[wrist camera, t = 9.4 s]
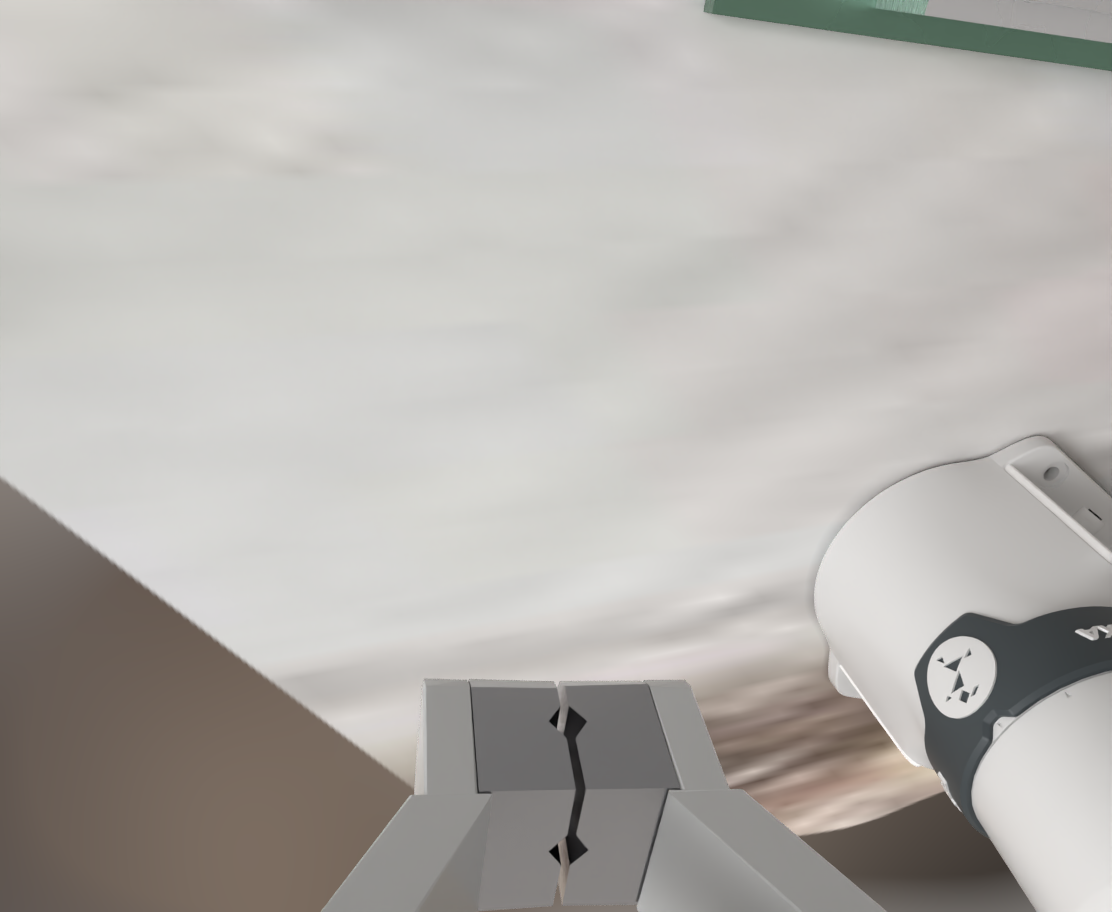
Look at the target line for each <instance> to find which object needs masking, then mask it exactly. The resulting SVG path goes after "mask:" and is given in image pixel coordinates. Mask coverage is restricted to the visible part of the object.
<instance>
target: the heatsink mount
mask: <svg viewBox="0 0 1112 912" xmlns="http://www.w3.org/2000/svg"><path fill="white" fill-rule="evenodd" d="M704 12H707V13H712V14H718V15H725V16H732V17H739V18H746V19H753V20H760V21H767V22H774V23H781V24H788V25H795V26H802V27H809V28H816V29H823V30H830V31H837V32H844V33H851V34H858V35H865V36H872V37H879V38H886V39H893V40H900V41H907V42H914V43H921V44H928V45H935V46H942V47H949V48H955V49H962V50H969V51H976V52H983V53H990V54H997V55H1004V56H1011V57H1018V58H1025V59H1032V60H1039V61H1046V62H1053V63H1060V64H1067V65H1074V66H1081V67H1088V68H1095V69H1102V70H1109V71H1112V0H706V1H705V7H704Z"/></svg>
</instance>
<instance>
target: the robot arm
mask: <svg viewBox="0 0 1112 912" xmlns="http://www.w3.org/2000/svg"><path fill="white" fill-rule="evenodd" d="M1049 468H1050V469H1049ZM1047 469H1049V470H1048V471H1047V472H1045V471H1046V470H1047ZM814 604H815V611H816V615H817V619H818V622H819V624H820V627H821V629H822V631H823V633H824V634H825V636H826V638H827V641H828V643H829V647H830V654H829V664H828V675H829V679H830V681H831V683H832V684H833V685H834V687H835V688H836V689H837V691H838V692H839V693H840V694H842V695H844V696H848V697H854V698H861V699H863V700H864V702H865V703H866V704H867V706H868V707H869V709H870V710H871V711H872V713H873V714H874V716H875V717H876V718H877V720H878V721H879V722H880V724H881V725H882V727H883V728H884V729H885V731H886V732H887V734H888V735H889V736H890V738H891V739H892V740H893V742H894V743H895V745H896V746H897V747H898V749H899V750H900V751H901V753H902V754H903V755H904V757H905V758H906V759H907V760H908V761H909V762H910V763H912V764H913V765H915V766H917V767H919V766H923V767H926V768H929V769H933V770H935V772H936V773H937V775H938V776H939V778H940V780H941V785H942V786H943V788H944V790H945V791H946V793H947V795H948V796H949V798H950V799H951V800H952V802H953V803H954V805H955V806H956V807H958V809H959V810H960V811H962V812H963V814H964V815H965V817H966V818H967V820H968V821H969V823H970V824H971V825H972V826H973V827H974V828H975V829H976V830H977V831H978V832H980V833H981V834H982V835H984V836H985V837H988V838H990V839H991V840H992V842H993V844H994V845H995V847H996V849H997V850H998V852H999V853H1000V855H1001V856H1002V858H1003V859H1004V861H1005V863H1006V864H1007V866H1008V867H1009V869H1010V870H1011V872H1012V874H1013V875H1014V877H1015V878H1016V880H1017V881H1018V883H1019V885H1020V886H1021V888H1022V889H1023V891H1024V892H1025V894H1026V895H1027V897H1028V899H1029V900H1030V902H1031V903H1032V905H1033V906H1034V908H1035V910H1036V911H1037V912H1112V497H1111V496H1110V495H1109V494H1107V493H1106V492H1105V491H1104V490H1103V489H1102V488H1101V487H1100V486H1099V485H1098V484H1097V483H1096V482H1095V481H1094V480H1093V479H1092V478H1090V477H1089V476H1088V475H1087V474H1086V473H1085V472H1084V471H1083V470H1082V469H1081V468H1080V467H1079V466H1078V465H1077V464H1076V463H1075V462H1073V461H1072V460H1071V459H1070V458H1069V457H1068V456H1067V455H1066V454H1065V453H1064V452H1063V451H1062V450H1061V449H1060V448H1059V447H1058V446H1057V445H1055V444H1054V443H1053V442H1052V441H1051V440H1050V439H1048V438H1046V437H1044V436H1033V437H1030V438H1026V439H1024V440H1021V441H1019V442H1017V443H1014V444H1012V445H1010V446H1008V447H1006V448H1004V449H1002V450H1000V451H998V452H996V453H995V454H993V455H991V456H989V457H985V458H982V459H978V460H973V461H967V462H960V463H953V464H948V465H943V466H939V467H935V468H931V469H928V470H925V471H922V472H920V473H917V474H915V475H912V476H910V477H908V478H906V479H904V480H902V481H900V482H898V483H896V484H894V485H892V486H891V487H889V488H887V489H886V490H884V491H883V492H881V493H880V494H878V495H877V496H875V497H874V498H873V499H871V500H870V501H869V502H868V503H866V504H865V505H864V506H863V507H862V508H861V509H859V510H858V511H857V512H856V513H855V514H854V515H853V516H852V517H851V518H850V519H849V520H848V522H847V523H846V524H845V525H844V526H843V527H842V529H841V530H840V531H839V533H838V534H837V535H836V537H835V538H834V540H833V541H832V543H831V544H830V546H829V548H828V550H827V551H826V553H825V555H824V558H823V560H822V562H821V565H820V567H819V570H818V574H817V578H816V583H815V590H814ZM557 883H559V889H560V896H561V902H562V906H572V905H638V906H637V910H638V911H639V912H887V911H886V910H884V909H883V908H882V907H881V906H880V905H879V904H877V903H876V902H875V901H874V900H872V899H871V898H870V897H869V896H868V895H867V894H865V893H864V892H863V891H862V890H861V889H860V888H858V887H857V886H856V885H855V884H854V883H853V882H851V881H850V880H849V879H848V878H847V877H845V876H844V875H843V874H842V873H841V872H839V871H838V870H837V869H836V868H835V867H834V866H832V865H831V864H830V863H829V862H828V861H826V860H825V859H824V858H823V857H821V855H819V854H818V853H817V852H816V851H815V850H813V849H812V848H811V847H810V846H809V845H807V844H806V843H805V842H804V841H803V840H802V839H800V838H799V837H798V836H797V835H796V834H794V833H793V832H792V831H791V830H790V829H789V828H787V827H786V826H785V825H784V824H783V823H781V822H780V821H779V820H778V819H777V818H775V817H774V816H773V815H772V814H771V813H770V812H768V811H767V810H766V809H765V808H764V807H762V806H761V805H760V804H759V803H758V802H757V801H755V800H754V799H753V798H752V797H751V796H749V795H748V794H747V793H746V792H745V791H744V790H742V789H729V786H728V784H727V781H726V778H725V776H724V773H723V770H722V768H721V765H720V762H719V760H718V757H717V754H716V752H715V749H714V746H713V744H712V741H711V738H710V736H709V733H708V730H707V728H706V725H705V722H704V720H703V717H702V714H701V712H700V709H699V706H698V704H697V701H696V698H695V696H694V693H693V690H692V688H691V686H690V685H689V684H688V683H687V682H686V681H685V680H644V681H643V682H642V681H560V683H559V685H558V687H556V685H555V683H554V681H520V680H485V679H469V681H468V682H467V680H450V679H424V680H423V684H422V693H421V705H420V717H419V729H418V742H417V755H416V773H415V791H414V795H410V796H409V797H408V799H407V800H406V801H405V803H404V804H403V805H402V806H401V808H400V809H399V811H398V812H397V813H396V814H395V816H394V817H393V819H391V821H390V822H389V824H388V825H387V826H386V827H385V829H384V830H383V831H382V833H381V834H380V835H379V836H378V838H377V839H376V840H375V842H374V843H373V844H372V846H371V847H370V848H369V850H368V851H367V852H366V853H365V855H364V856H363V858H362V859H361V860H360V861H359V863H358V864H357V865H356V866H355V868H354V869H353V870H352V872H351V873H350V874H349V876H348V877H347V878H346V880H345V881H344V882H343V883H342V885H341V886H340V887H339V889H338V890H337V891H336V893H335V894H334V895H333V896H332V898H331V899H330V900H329V902H328V903H327V904H326V906H325V907H324V908H323V909H322V911H321V912H477V911H487V910H502V909H516V908H530V907H544V906H553V901H554V897H555V892H556V887H557Z"/></svg>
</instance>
